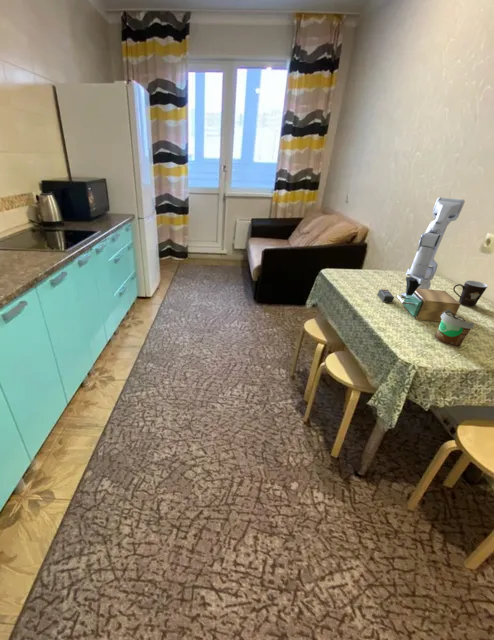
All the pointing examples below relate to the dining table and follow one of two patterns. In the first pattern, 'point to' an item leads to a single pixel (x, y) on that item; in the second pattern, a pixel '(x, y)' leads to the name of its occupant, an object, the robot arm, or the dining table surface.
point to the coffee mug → (471, 292)
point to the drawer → (412, 303)
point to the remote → (385, 295)
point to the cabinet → (435, 304)
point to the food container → (453, 328)
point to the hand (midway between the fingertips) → (408, 294)
